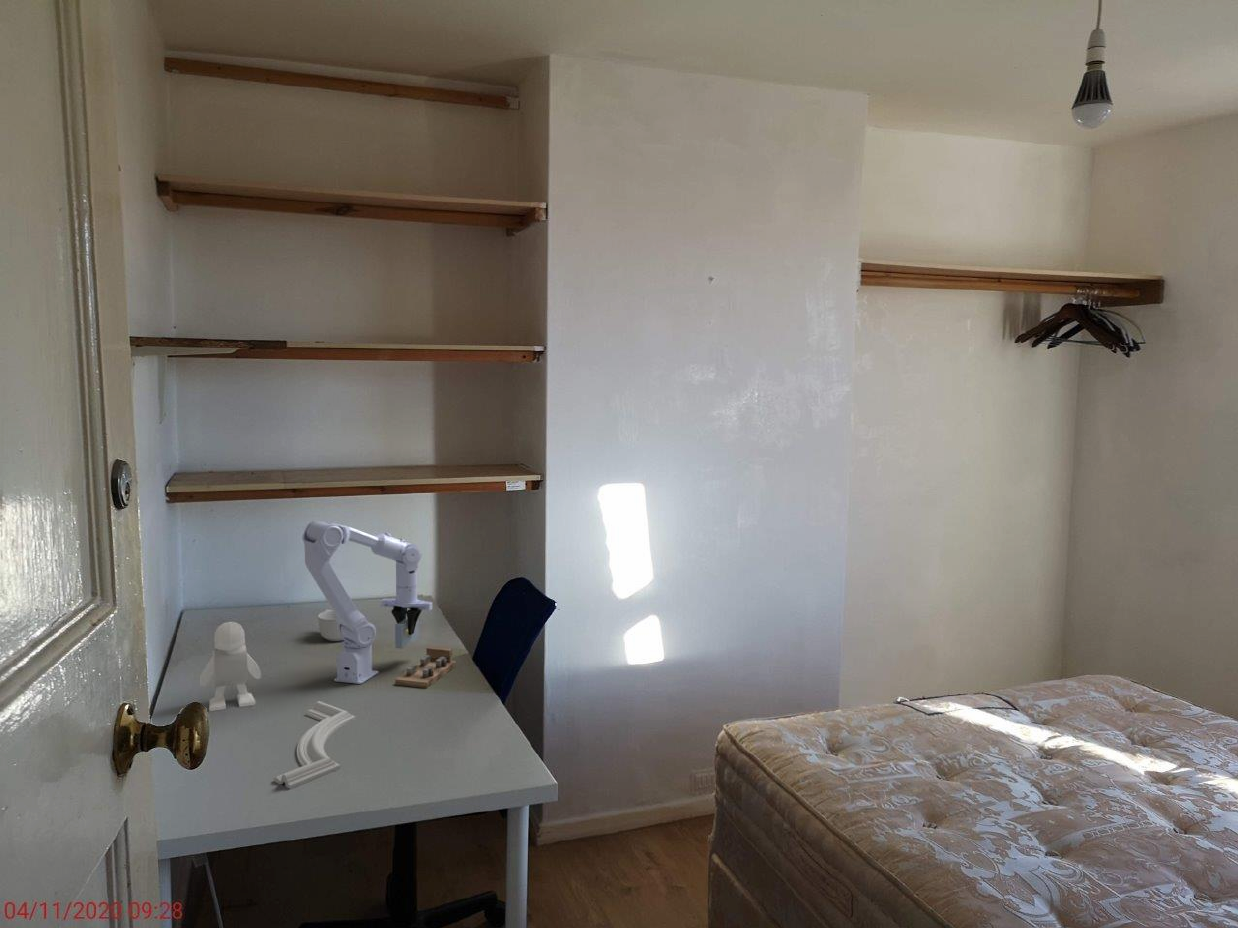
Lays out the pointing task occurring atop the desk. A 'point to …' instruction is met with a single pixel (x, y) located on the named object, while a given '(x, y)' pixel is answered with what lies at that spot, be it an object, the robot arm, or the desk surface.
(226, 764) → the desk surface
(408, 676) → the knife switch board
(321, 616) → the teacup
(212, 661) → the toy robot
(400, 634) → the rectangular block
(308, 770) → the molding
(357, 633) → the robot arm
